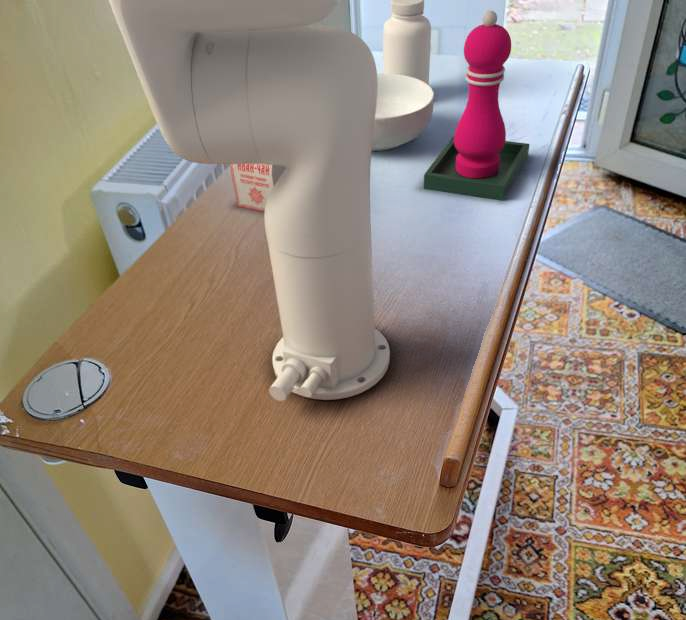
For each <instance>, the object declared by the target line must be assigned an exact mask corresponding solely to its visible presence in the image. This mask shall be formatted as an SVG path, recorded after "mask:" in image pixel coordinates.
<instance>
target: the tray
mask: <svg viewBox="0 0 686 620" xmlns="http://www.w3.org/2000/svg"><path fill="white" fill-rule="evenodd" d="M454 136H455V134H454V135H453V136H452V138H451V139H450V140H449V141H448V142H447V144H446V145H445V146H444V148H443V149H442V150H441V152H440V153H439V154H438V155H437V157H436V158H435V159H434V161H433V162H432V164H430V166H429V167H428V169H427V170H426V171H425V172H424V175H423V189H426V190H432V191H439V192H445V193H452V194H457V195H465V196H471V197H477V198H484V199H491V200H498V201H504V199H505V197H506V195H507V194H508V192H509V191H510V189H511V187H512V185H513V183H514V182H515V181H516V178H517V177H518V175H519V173H520V172H521V170H522V168H523V166H524V165H525V163H526V161H527V159H528V158H529V152H530V146H531V145H530V143H527V142H517V141H510V140H506V141H505V145H504V146H503V148H502V149H501V151H500V152H499V153H498V154H499V156H500V163H499V170H498V171H497V173H496V174H494V175H493V176H490V177H487V178H481V179H474V178H467V177H464V176H462V175H460V174H459V173H458V172H457V171H456V157H457V155H458V154H459V152H458V151H457V149H456V148H455V145H454Z"/></svg>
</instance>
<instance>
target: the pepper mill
mask: <svg viewBox="0 0 686 620" xmlns="http://www.w3.org/2000/svg"><path fill="white" fill-rule="evenodd" d="M497 21H498V15H497V13H496V11H494V10H488V11H486V12H485V13H484V14H483V16H482V23H483V24H480V25H478V26H475V27H474V28H473V29H472V30H471V31H470V32H469V33H468V35H467V36H466V38H465V42H464V46H463V56H464V59H465V61H466V63H467V64H468V65H467V67H466V70H465V72H466V75H465V81H466V82H467V83H468V96H467V97H468V98H467V102H466V105H465V107H464V111H463V113H462V115H461V117H460V119H459V120H458V123H457V125H456V128H455V132H454V135H455V136H454V135H453V136H454V145H455V148H456V149H457V151H458V152H459V154H458V155H457V157H456V171H457V172H458V173H459V174H460V175H462V176H464V177H467V178H474V179H481V178H487V177H490V176H493V175H494V174H496V173H497V171H498V170H499V163H500V156H499V154H498V153H499V152H500V151H501V149H502V148H503V146H504V145H505V141H507V136H506V135H507V132H506V125H505V122H504V118H503V116H502V112H501V109H500V104H499V92H500V85H501V83H502V82H503V81H504V79H505V71H506V68H505V65H504V64H505V63H506V62H507V61H508V59H509V57H510V56H511V53H512V39H511V35H510V34H509V31H508V30H507V29H506V28H505V27H504V26H502V25H499V24H496V23H497Z"/></svg>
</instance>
